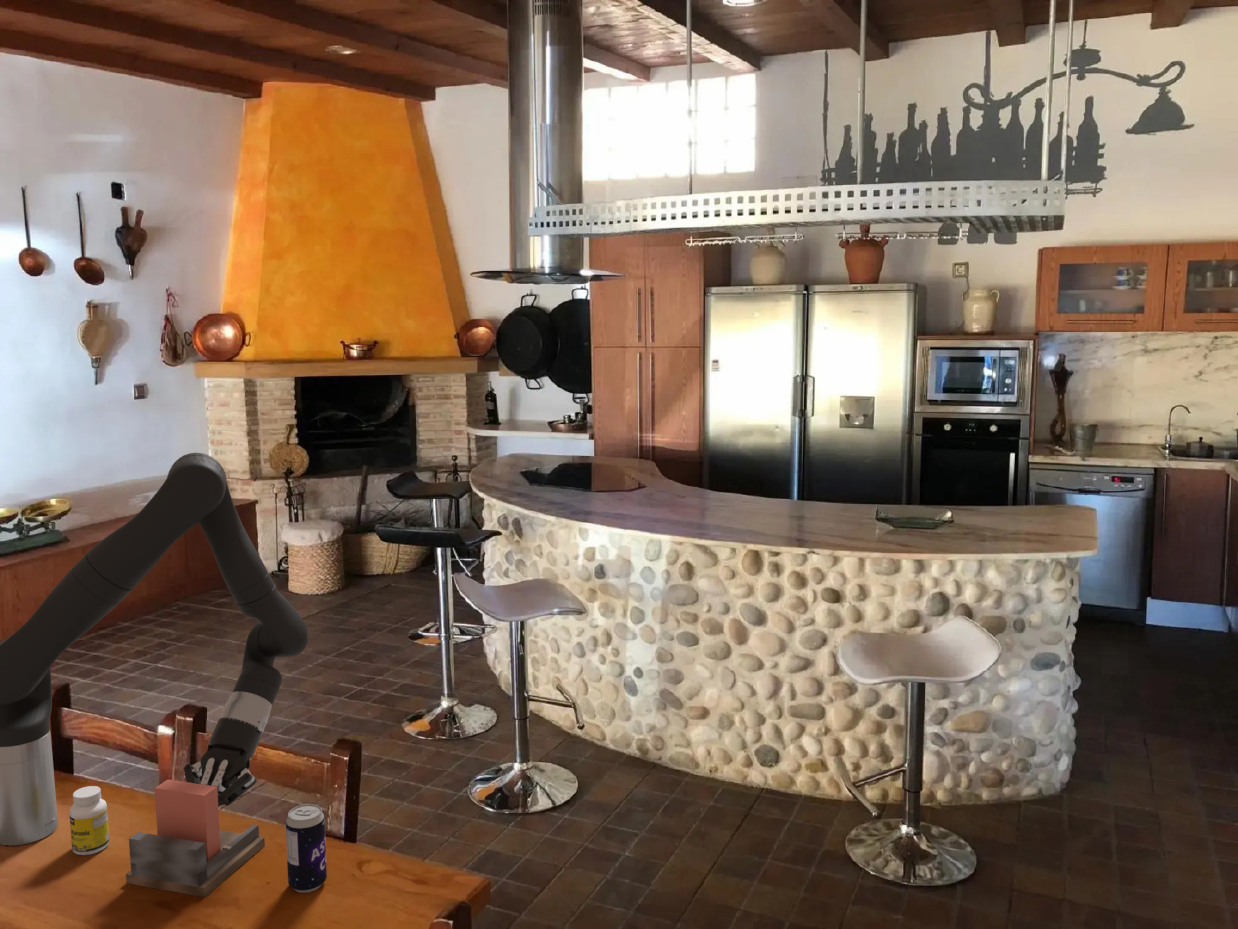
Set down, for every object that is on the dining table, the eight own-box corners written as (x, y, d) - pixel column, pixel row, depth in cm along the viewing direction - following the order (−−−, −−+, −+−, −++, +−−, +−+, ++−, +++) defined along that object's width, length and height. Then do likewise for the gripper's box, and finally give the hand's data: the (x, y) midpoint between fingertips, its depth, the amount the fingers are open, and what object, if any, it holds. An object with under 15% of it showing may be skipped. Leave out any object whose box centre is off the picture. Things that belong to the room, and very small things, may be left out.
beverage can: (315, 898, 146) (312, 823, 144) (281, 893, 147) (277, 819, 146) (333, 877, 152) (331, 805, 150) (300, 872, 153) (297, 801, 151)
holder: (126, 883, 149) (123, 837, 148) (191, 834, 164) (189, 792, 163) (204, 897, 146) (202, 851, 145) (264, 845, 160) (262, 803, 159)
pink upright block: (159, 860, 153) (154, 788, 151) (172, 850, 156) (167, 779, 154) (208, 868, 150) (204, 795, 149) (221, 858, 153) (217, 786, 152)
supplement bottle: (64, 852, 158) (59, 795, 156) (93, 836, 163) (89, 781, 161) (88, 859, 156) (84, 802, 154) (117, 843, 161) (113, 787, 159)
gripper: (196, 711, 163) (148, 815, 153) (265, 720, 160) (221, 827, 150) (218, 729, 169) (173, 830, 159) (285, 738, 166) (244, 841, 156)
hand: (197, 828), depth 154 cm, fingers closed
